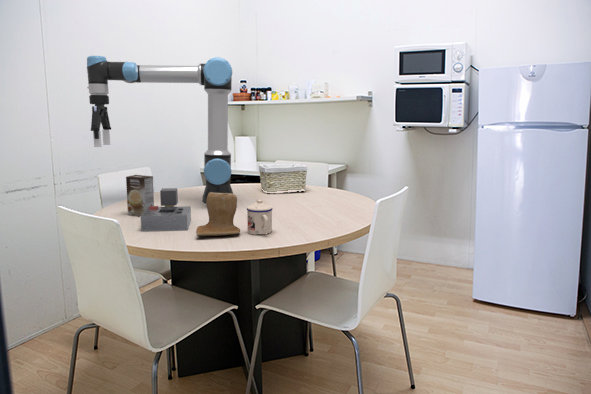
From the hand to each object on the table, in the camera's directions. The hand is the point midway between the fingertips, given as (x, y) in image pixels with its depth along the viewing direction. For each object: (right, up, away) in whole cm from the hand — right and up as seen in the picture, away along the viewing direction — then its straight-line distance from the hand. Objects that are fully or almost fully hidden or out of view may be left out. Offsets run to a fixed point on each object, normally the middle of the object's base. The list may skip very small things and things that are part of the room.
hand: (102, 145), depth 193 cm
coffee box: (+18, -29, -5) cm, 35 cm away
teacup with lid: (+70, -35, -32) cm, 85 cm away
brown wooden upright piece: (+55, -35, -35) cm, 74 cm away
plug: (+31, -29, -7) cm, 43 cm away
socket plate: (+34, -32, -23) cm, 52 cm away
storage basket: (+75, -19, +55) cm, 95 cm away
